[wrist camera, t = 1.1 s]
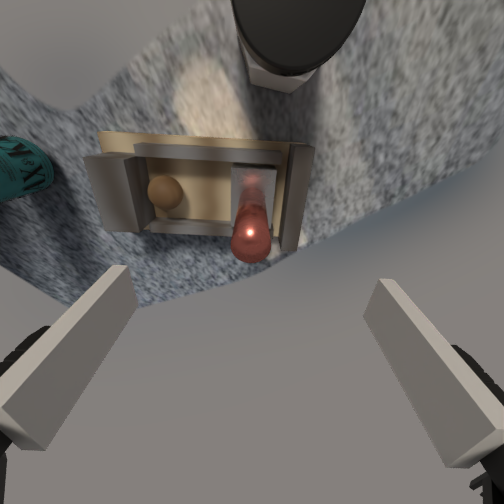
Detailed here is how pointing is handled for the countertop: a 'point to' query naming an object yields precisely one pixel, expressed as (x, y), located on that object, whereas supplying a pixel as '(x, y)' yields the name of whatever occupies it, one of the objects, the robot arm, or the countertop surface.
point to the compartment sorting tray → (194, 182)
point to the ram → (252, 210)
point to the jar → (291, 37)
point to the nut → (165, 192)
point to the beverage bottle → (22, 168)
